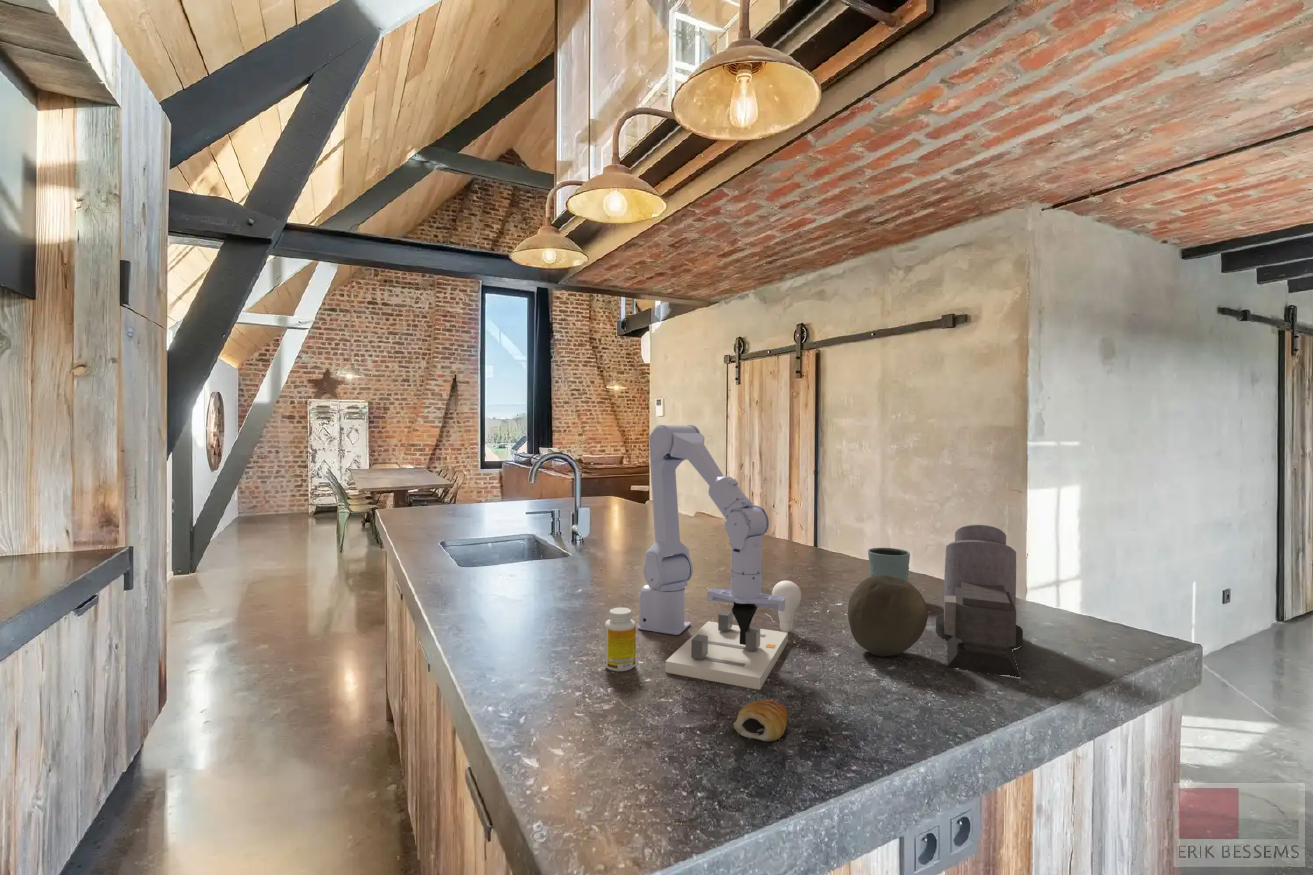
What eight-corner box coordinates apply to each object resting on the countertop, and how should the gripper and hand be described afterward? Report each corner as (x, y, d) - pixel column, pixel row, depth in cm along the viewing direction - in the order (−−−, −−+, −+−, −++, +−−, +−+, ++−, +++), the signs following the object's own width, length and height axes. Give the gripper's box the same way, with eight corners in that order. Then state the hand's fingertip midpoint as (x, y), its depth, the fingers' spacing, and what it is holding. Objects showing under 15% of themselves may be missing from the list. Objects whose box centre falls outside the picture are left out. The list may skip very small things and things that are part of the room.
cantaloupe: (889, 673, 106) (890, 589, 106) (831, 647, 118) (833, 572, 118) (942, 660, 112) (943, 581, 112) (882, 636, 125) (883, 565, 125)
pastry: (756, 708, 93) (756, 684, 93) (798, 720, 89) (798, 695, 89) (730, 734, 85) (731, 708, 85) (775, 749, 81) (776, 721, 81)
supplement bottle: (640, 669, 107) (640, 612, 107) (611, 674, 104) (611, 616, 104) (628, 658, 112) (628, 604, 112) (600, 663, 109) (600, 608, 109)
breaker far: (718, 630, 121) (718, 614, 121) (722, 625, 124) (722, 609, 124) (727, 631, 120) (727, 615, 120) (732, 626, 123) (732, 611, 123)
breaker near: (691, 657, 106) (691, 639, 106) (697, 651, 109) (697, 634, 109) (702, 659, 105) (702, 641, 105) (707, 653, 108) (707, 635, 108)
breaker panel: (665, 672, 106) (665, 660, 106) (708, 630, 128) (708, 620, 128) (759, 689, 99) (760, 677, 99) (787, 642, 121) (787, 632, 121)
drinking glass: (915, 603, 149) (916, 555, 149) (875, 602, 149) (876, 555, 149) (899, 592, 159) (900, 547, 159) (862, 591, 160) (862, 546, 159)
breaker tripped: (745, 649, 110) (745, 632, 110) (749, 643, 113) (750, 626, 113) (756, 650, 110) (756, 633, 110) (760, 645, 113) (760, 628, 113)
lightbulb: (801, 638, 123) (801, 585, 123) (771, 635, 125) (771, 583, 124) (800, 628, 129) (800, 578, 129) (771, 626, 131) (772, 576, 130)
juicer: (936, 619, 137) (938, 513, 136) (1017, 630, 130) (1019, 518, 130) (934, 665, 110) (936, 534, 109) (1036, 682, 103) (1039, 541, 102)
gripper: (702, 571, 111) (701, 643, 111) (780, 580, 105) (778, 656, 106) (714, 563, 117) (713, 632, 118) (788, 571, 112) (786, 643, 112)
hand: (744, 642), depth 112 cm, fingers closed, pressing on breaker tripped
